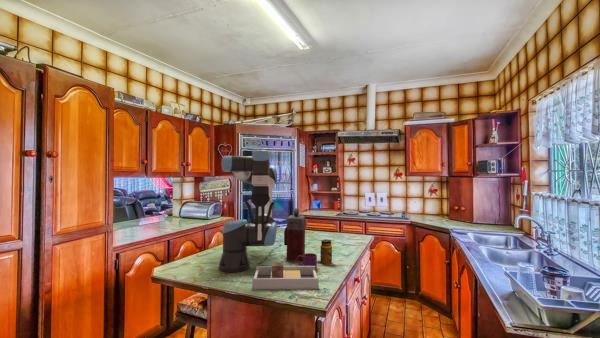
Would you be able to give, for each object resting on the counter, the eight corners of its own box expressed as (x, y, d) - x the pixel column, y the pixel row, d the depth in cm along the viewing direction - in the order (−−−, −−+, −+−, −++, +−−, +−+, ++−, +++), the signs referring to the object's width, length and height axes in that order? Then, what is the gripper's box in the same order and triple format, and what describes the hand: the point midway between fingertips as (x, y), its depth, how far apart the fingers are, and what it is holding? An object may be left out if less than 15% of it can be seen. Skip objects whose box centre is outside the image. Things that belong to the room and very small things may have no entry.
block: (271, 277, 118) (271, 265, 118) (272, 273, 123) (272, 262, 123) (283, 277, 118) (283, 265, 118) (283, 273, 123) (283, 262, 123)
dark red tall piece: (285, 255, 159) (285, 206, 159) (304, 256, 157) (305, 207, 158) (282, 260, 150) (282, 208, 150) (302, 261, 148) (303, 209, 149)
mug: (315, 271, 133) (315, 257, 133) (295, 269, 136) (295, 255, 136) (317, 267, 140) (318, 253, 140) (298, 265, 142) (299, 252, 142)
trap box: (252, 289, 112) (252, 279, 112) (256, 274, 128) (256, 266, 128) (318, 288, 113) (318, 278, 114) (314, 274, 129) (314, 265, 129)
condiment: (334, 264, 144) (334, 241, 144) (318, 266, 142) (318, 242, 142) (329, 260, 151) (329, 238, 151) (314, 261, 149) (315, 239, 149)
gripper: (244, 185, 117) (243, 241, 116) (275, 185, 118) (274, 241, 117) (246, 184, 124) (245, 237, 124) (275, 185, 125) (275, 237, 125)
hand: (259, 239), depth 120 cm, fingers closed
